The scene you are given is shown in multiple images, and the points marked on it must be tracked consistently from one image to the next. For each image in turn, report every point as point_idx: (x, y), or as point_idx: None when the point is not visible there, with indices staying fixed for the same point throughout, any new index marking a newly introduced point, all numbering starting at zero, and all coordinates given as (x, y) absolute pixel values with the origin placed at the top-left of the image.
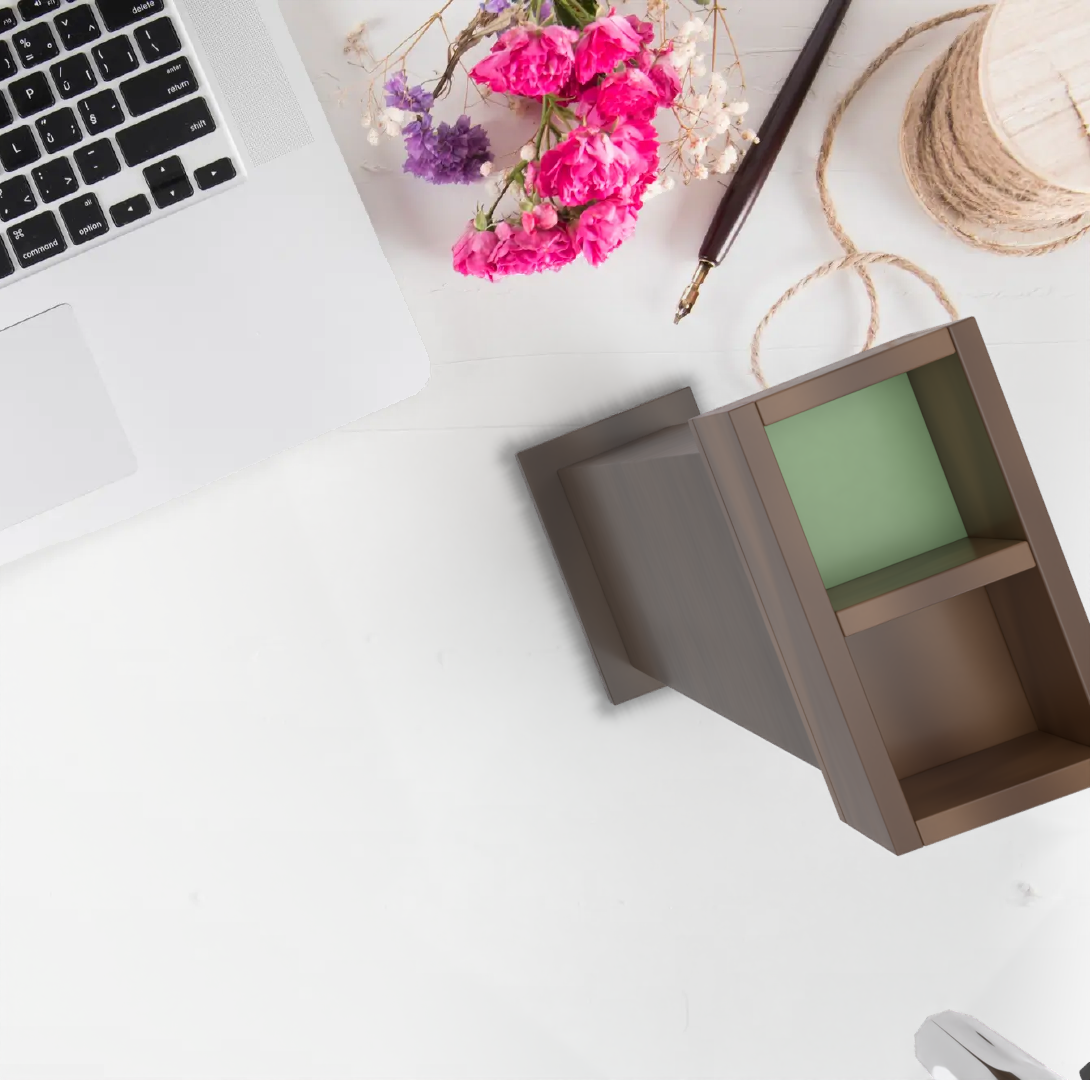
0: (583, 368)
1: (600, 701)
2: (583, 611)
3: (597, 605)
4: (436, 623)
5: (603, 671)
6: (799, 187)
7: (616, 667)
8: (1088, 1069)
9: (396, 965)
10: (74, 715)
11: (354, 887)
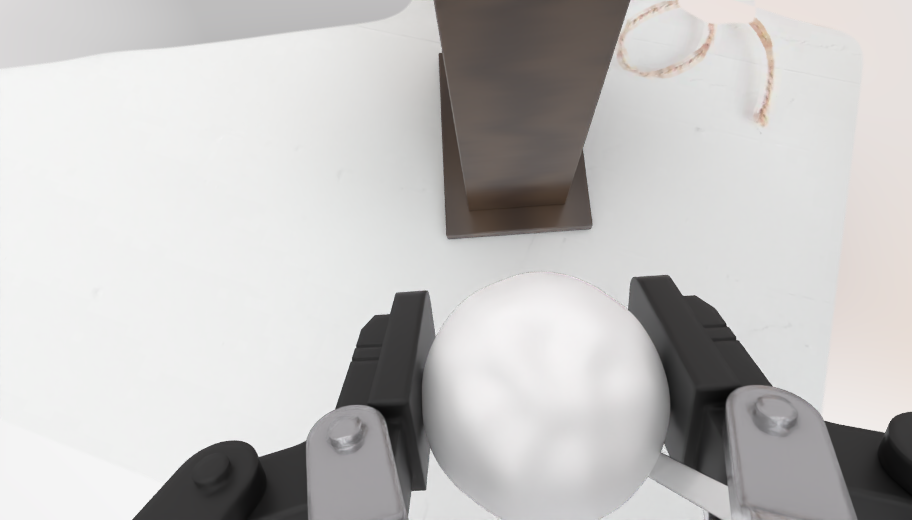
0: None
1: (440, 236)
2: (447, 163)
3: (458, 161)
4: (346, 150)
5: (446, 208)
6: None
7: (457, 207)
8: (629, 305)
9: (209, 394)
10: (88, 144)
11: (207, 321)
